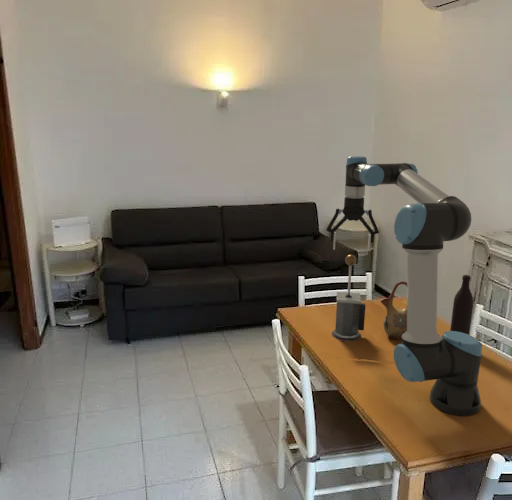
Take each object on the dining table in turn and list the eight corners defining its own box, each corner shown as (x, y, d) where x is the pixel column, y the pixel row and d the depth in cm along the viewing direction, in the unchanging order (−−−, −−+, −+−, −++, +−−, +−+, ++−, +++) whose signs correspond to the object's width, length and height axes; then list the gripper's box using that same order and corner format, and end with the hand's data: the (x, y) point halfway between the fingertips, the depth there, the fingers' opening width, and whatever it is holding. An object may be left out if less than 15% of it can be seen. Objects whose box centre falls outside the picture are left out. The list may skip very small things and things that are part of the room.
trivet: (361, 343, 199) (361, 342, 199) (331, 341, 201) (331, 339, 201) (360, 331, 211) (360, 329, 211) (332, 329, 213) (332, 327, 212)
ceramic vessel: (413, 333, 209) (419, 277, 202) (420, 343, 200) (426, 285, 194) (375, 333, 209) (379, 277, 202) (380, 343, 200) (385, 284, 194)
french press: (363, 341, 200) (366, 301, 196) (334, 338, 202) (336, 300, 197) (362, 331, 210) (365, 293, 205) (334, 328, 211) (336, 291, 207)
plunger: (356, 314, 199) (359, 257, 193) (339, 313, 200) (342, 256, 194) (355, 308, 206) (359, 253, 199) (339, 307, 207) (342, 252, 200)
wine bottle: (467, 345, 199) (476, 274, 191) (466, 352, 193) (476, 279, 185) (449, 341, 202) (457, 272, 194) (447, 349, 196) (456, 277, 188)
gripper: (386, 196, 192) (382, 248, 198) (322, 194, 196) (320, 245, 202) (388, 199, 185) (384, 253, 191) (321, 197, 189) (319, 250, 195)
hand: (351, 249), depth 196 cm, fingers open, 13 cm apart
